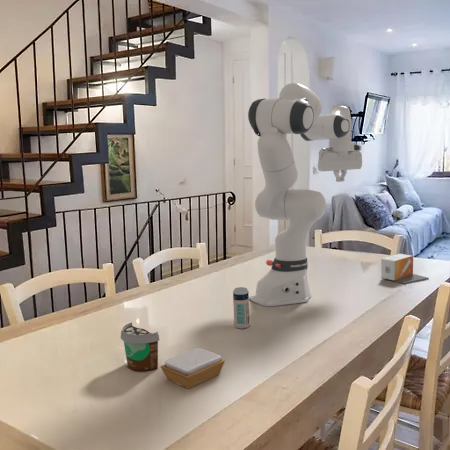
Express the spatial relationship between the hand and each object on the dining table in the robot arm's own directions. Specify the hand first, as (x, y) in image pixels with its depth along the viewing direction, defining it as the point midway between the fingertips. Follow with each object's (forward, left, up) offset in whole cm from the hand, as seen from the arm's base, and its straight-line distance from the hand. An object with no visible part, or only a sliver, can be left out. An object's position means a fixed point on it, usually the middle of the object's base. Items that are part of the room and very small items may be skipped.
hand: (340, 181), depth 210 cm
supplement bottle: (-65, -33, -39) cm, 83 cm away
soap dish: (-92, -57, -40) cm, 115 cm away
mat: (+17, -19, -39) cm, 47 cm away
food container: (-102, -45, -39) cm, 118 cm away
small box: (+9, -18, -34) cm, 40 cm away
